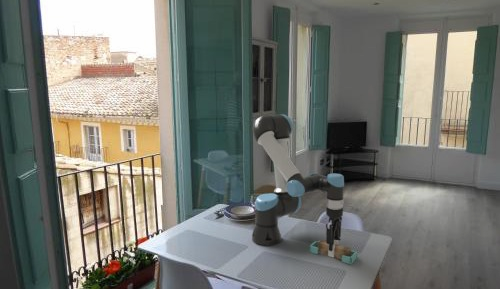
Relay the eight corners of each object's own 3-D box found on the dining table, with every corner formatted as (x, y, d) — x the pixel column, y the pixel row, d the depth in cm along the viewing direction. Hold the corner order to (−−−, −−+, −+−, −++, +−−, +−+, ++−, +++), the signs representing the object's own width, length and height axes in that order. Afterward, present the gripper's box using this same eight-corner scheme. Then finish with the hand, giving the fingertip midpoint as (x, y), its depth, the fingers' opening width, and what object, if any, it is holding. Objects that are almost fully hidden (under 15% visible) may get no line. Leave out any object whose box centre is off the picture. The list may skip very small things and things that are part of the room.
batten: (317, 252, 170) (317, 242, 169) (320, 249, 173) (321, 239, 172) (347, 261, 161) (347, 251, 160) (350, 258, 164) (350, 248, 163)
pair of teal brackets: (309, 251, 170) (309, 245, 170) (316, 246, 176) (316, 240, 176) (351, 264, 158) (351, 258, 158) (357, 257, 164) (357, 251, 164)
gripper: (335, 214, 155) (333, 264, 158) (349, 204, 168) (347, 250, 172) (319, 210, 159) (318, 259, 163) (334, 201, 172) (332, 246, 176)
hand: (333, 254), depth 167 cm, fingers closed on batten, 4 cm apart
